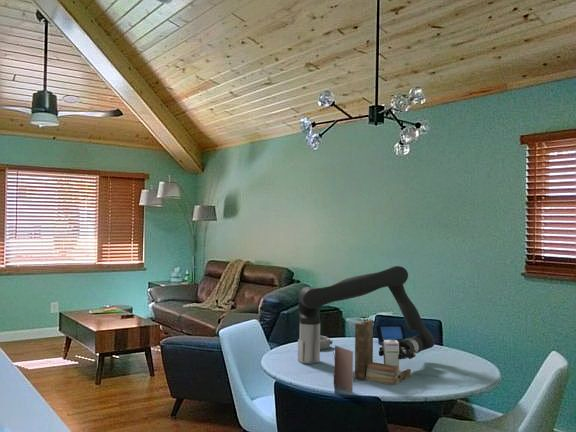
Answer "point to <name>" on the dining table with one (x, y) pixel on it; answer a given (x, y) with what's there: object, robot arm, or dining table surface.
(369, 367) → the offcut stack
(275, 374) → the dining table surface
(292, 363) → the dining table surface
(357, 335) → the walnut rack
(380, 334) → the handheld game console
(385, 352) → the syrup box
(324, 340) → the dish
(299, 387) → the dining table surface
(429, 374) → the dining table surface
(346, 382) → the greeting card
